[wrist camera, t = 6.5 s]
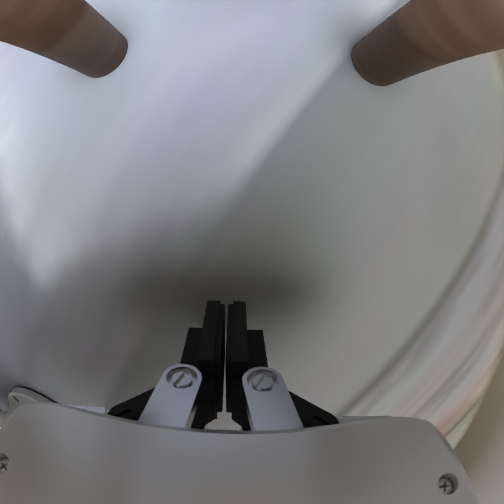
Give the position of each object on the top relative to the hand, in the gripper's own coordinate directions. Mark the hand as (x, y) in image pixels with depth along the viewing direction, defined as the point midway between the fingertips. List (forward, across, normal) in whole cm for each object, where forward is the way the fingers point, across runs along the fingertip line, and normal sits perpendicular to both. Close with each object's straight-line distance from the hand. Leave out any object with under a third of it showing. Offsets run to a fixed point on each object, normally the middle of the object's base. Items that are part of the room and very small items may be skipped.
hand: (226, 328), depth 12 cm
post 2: (+2, -6, -13) cm, 15 cm away
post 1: (+2, +6, -13) cm, 15 cm away
